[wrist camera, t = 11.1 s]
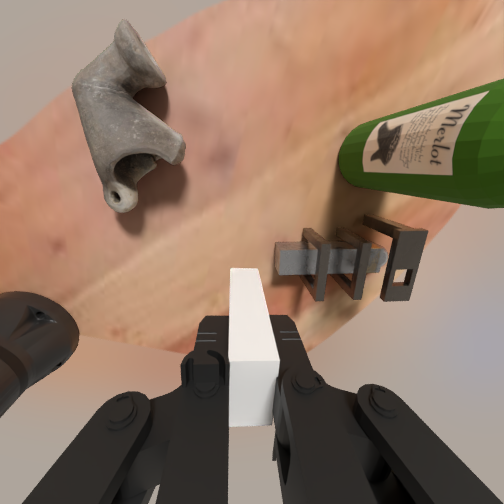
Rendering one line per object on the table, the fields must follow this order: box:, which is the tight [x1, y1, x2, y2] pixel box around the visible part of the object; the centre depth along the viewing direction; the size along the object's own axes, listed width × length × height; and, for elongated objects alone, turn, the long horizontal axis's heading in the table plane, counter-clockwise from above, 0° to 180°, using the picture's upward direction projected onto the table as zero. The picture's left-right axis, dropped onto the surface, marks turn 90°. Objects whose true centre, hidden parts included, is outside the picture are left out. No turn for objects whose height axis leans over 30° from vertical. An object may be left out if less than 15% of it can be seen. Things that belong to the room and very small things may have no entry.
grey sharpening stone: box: [274, 241, 388, 275], centre depth 38 cm, size 18×4×4 cm, turn 89°
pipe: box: [72, 19, 186, 213], centre depth 28 cm, size 16×9×15 cm
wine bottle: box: [339, 79, 504, 209], centre depth 20 cm, size 9×9×32 cm
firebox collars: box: [299, 215, 428, 302], centre depth 35 cm, size 12×10×10 cm
